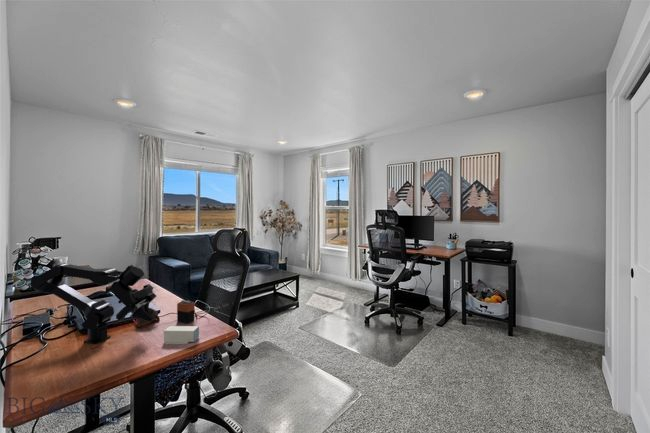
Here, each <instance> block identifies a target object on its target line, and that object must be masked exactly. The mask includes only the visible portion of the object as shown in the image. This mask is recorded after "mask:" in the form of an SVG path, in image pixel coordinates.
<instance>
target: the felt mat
mask: <svg viewBox="0 0 650 433" xmlns="http://www.w3.org/2000/svg"><path fill="white" fill-rule="evenodd" d="M188 344H189V342H164V344H163V345H188Z"/></svg>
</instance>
